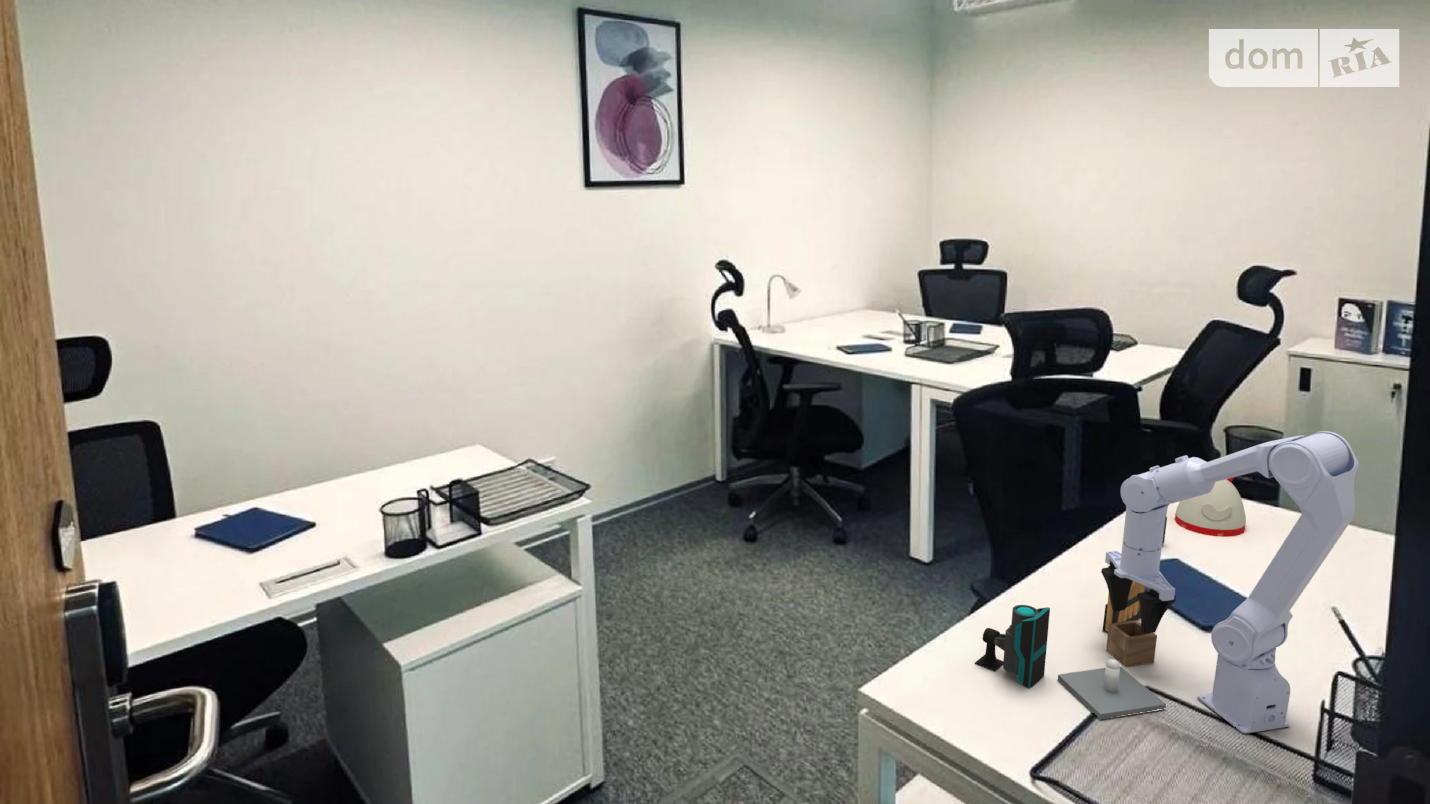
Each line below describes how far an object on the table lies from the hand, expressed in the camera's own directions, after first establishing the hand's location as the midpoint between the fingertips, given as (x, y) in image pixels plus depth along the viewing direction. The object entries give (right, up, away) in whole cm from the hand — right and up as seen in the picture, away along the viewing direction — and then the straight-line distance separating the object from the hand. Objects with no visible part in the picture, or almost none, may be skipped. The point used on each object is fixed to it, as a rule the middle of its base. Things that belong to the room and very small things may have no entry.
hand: (1133, 620), depth 148 cm
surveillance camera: (-21, -8, -2) cm, 23 cm away
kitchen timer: (+42, +8, +55) cm, 70 cm away
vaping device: (+24, +5, +44) cm, 51 cm away
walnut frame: (0, -6, +2) cm, 7 cm away
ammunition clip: (+4, -4, +12) cm, 13 cm away
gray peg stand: (-8, -9, -9) cm, 15 cm away
